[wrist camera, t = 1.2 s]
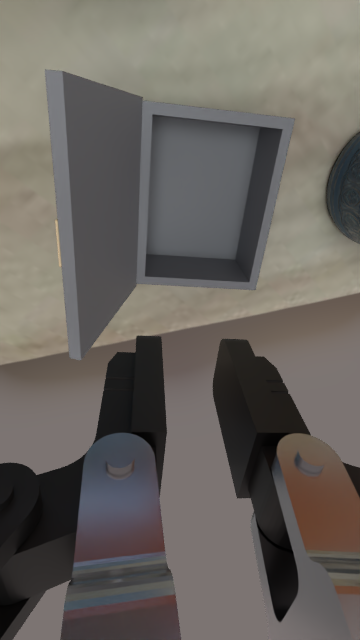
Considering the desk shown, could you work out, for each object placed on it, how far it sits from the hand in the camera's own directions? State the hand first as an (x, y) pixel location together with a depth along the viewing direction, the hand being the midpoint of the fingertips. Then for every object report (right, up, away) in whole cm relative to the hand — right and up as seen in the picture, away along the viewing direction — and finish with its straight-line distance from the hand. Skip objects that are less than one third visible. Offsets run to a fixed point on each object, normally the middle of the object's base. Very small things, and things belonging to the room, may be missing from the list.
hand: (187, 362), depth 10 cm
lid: (-5, +8, +13) cm, 16 cm away
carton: (+2, +15, +25) cm, 29 cm away
